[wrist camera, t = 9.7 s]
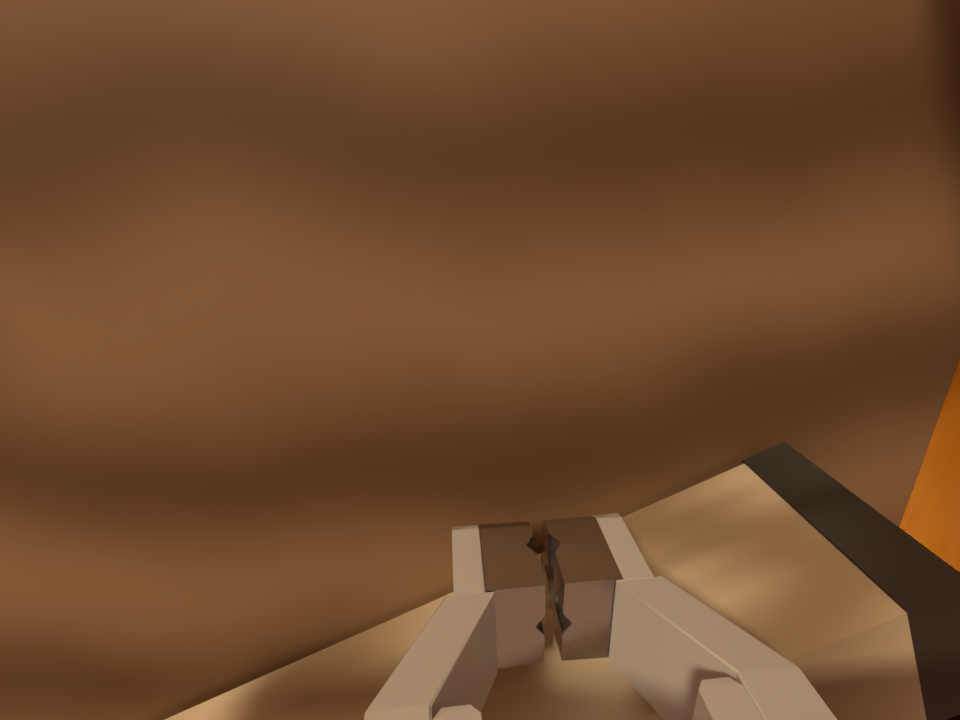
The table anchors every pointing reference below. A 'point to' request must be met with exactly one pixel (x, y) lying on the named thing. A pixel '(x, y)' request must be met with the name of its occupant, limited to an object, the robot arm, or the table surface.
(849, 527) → the folding leg
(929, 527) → the table surface
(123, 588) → the stool seat
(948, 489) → the table surface
